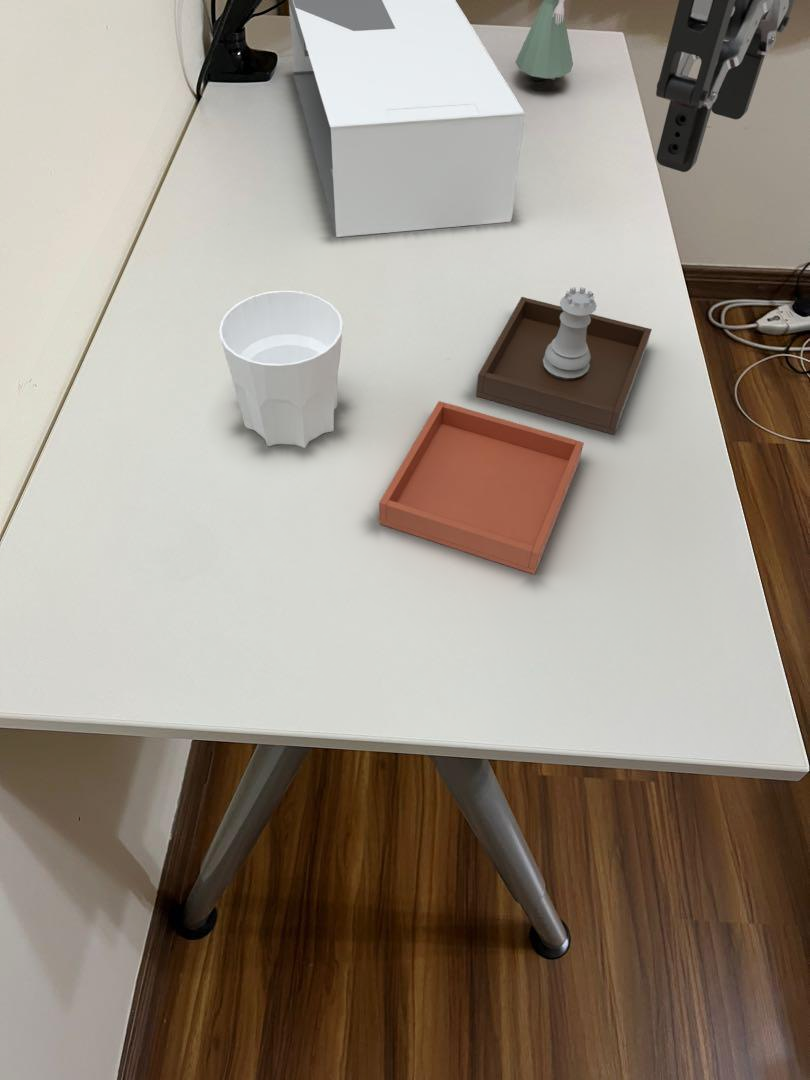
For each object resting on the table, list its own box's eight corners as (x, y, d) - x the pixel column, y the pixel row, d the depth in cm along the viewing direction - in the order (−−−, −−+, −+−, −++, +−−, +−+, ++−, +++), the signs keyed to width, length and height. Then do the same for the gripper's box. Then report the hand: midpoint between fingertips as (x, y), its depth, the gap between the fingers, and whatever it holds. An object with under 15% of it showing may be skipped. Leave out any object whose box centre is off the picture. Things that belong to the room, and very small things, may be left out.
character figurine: (510, 57, 129) (525, -85, 115) (565, 59, 129) (586, -84, 115) (515, 103, 119) (532, -47, 105) (574, 105, 119) (598, -45, 105)
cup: (301, 367, 81) (292, 276, 74) (369, 420, 77) (367, 329, 69) (214, 413, 77) (195, 322, 69) (281, 472, 72) (268, 382, 65)
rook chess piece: (553, 346, 83) (567, 275, 77) (596, 362, 82) (613, 290, 75) (534, 371, 81) (546, 299, 74) (577, 388, 79) (593, 316, 73)
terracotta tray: (578, 463, 74) (584, 442, 72) (534, 574, 66) (539, 554, 64) (437, 422, 77) (438, 400, 75) (379, 524, 69) (378, 502, 67)
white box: (292, 72, 124) (284, -26, 114) (432, 64, 127) (435, -33, 117) (334, 238, 96) (329, 126, 86) (512, 222, 99) (526, 112, 89)
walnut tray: (645, 350, 84) (651, 328, 82) (614, 435, 76) (620, 413, 74) (518, 318, 87) (521, 296, 85) (475, 396, 79) (478, 374, 77)
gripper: (835, -166, 35) (716, 206, 47) (920, -219, 42) (798, 114, 55) (665, -192, 37) (595, 167, 50) (773, -238, 45) (689, 84, 57)
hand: (701, 139), depth 52 cm, fingers open, 8 cm apart
